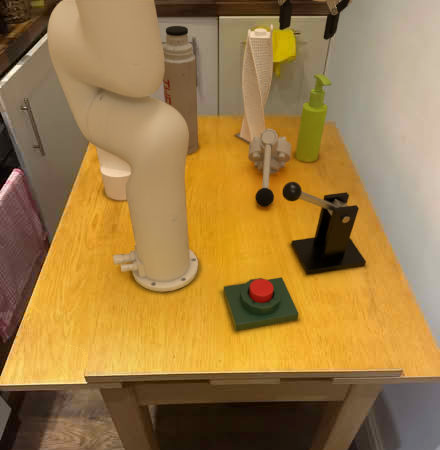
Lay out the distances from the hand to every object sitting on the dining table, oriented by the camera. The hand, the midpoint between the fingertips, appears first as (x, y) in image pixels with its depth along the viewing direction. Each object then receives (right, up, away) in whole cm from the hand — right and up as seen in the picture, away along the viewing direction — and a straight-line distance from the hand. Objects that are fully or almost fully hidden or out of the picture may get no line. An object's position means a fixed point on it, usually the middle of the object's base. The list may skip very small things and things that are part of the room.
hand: (306, 33), depth 79 cm
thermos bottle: (-27, -11, +31) cm, 43 cm away
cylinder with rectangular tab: (-39, -26, +17) cm, 50 cm away
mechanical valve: (-5, -24, +19) cm, 32 cm away
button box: (-10, -53, -7) cm, 54 cm away
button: (-10, -51, -9) cm, 53 cm away
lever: (-1, -36, -8) cm, 37 cm away
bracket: (+5, -43, +2) cm, 43 cm away
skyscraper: (-7, -7, +35) cm, 37 cm away
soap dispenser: (+6, -15, +28) cm, 32 cm away
